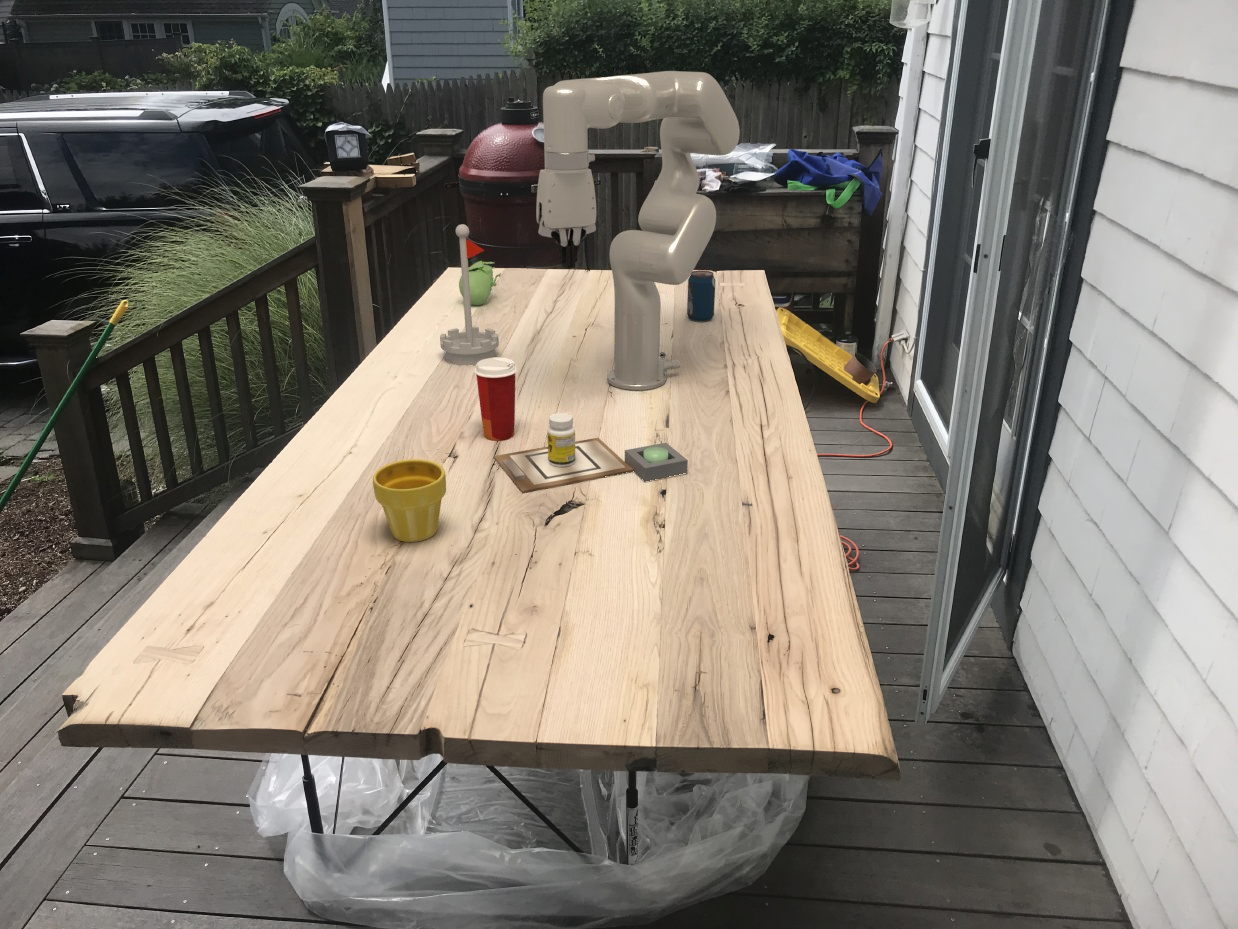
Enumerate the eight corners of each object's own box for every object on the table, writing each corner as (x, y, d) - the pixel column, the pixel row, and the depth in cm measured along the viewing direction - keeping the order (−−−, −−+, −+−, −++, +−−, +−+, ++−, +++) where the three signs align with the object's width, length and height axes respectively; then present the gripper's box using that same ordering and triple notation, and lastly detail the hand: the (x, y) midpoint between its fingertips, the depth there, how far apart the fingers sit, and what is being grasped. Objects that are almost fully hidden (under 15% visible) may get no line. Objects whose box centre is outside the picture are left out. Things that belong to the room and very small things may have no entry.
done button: (660, 458, 165) (661, 445, 164) (672, 468, 162) (672, 454, 161) (639, 462, 164) (639, 449, 163) (650, 472, 160) (650, 458, 159)
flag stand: (430, 362, 213) (419, 227, 200) (460, 346, 224) (451, 216, 211) (481, 370, 208) (472, 232, 196) (509, 352, 219) (503, 221, 207)
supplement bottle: (548, 456, 166) (546, 412, 163) (575, 455, 166) (574, 411, 163) (548, 468, 162) (547, 422, 158) (576, 467, 162) (575, 422, 159)
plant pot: (416, 556, 136) (410, 495, 132) (364, 537, 141) (357, 478, 137) (463, 526, 144) (459, 468, 140) (413, 509, 149) (407, 453, 145)
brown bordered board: (598, 439, 174) (598, 433, 174) (633, 471, 162) (633, 465, 161) (493, 458, 167) (493, 451, 166) (522, 493, 154) (522, 486, 154)
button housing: (665, 456, 168) (666, 442, 167) (687, 473, 161) (687, 460, 160) (624, 463, 165) (624, 450, 164) (644, 482, 158) (645, 468, 157)
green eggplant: (499, 309, 252) (497, 268, 247) (457, 309, 252) (455, 268, 247) (505, 297, 263) (503, 258, 258) (465, 297, 263) (462, 257, 258)
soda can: (718, 317, 246) (720, 272, 241) (705, 324, 240) (707, 277, 235) (694, 313, 249) (696, 268, 244) (681, 320, 244) (683, 273, 239)
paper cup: (526, 430, 178) (523, 359, 172) (509, 445, 172) (505, 372, 166) (488, 424, 180) (484, 354, 174) (470, 439, 174) (465, 367, 168)
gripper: (597, 157, 171) (597, 258, 179) (518, 161, 165) (522, 265, 173) (614, 162, 165) (613, 267, 173) (533, 166, 159) (536, 275, 167)
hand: (568, 266), depth 173 cm, fingers closed
